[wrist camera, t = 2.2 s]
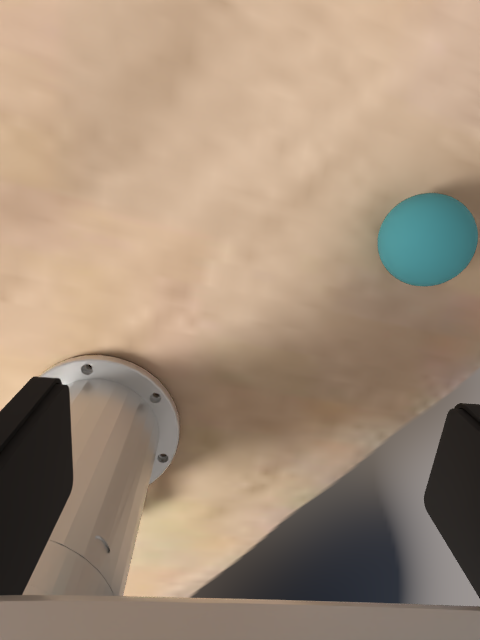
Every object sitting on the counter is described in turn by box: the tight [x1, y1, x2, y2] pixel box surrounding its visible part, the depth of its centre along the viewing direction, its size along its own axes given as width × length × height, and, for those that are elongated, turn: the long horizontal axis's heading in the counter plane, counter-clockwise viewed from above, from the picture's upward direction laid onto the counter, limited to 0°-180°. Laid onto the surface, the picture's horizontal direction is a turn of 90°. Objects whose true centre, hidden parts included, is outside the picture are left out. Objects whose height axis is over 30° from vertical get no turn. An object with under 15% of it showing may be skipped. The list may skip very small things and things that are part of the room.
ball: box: [378, 193, 478, 286], centre depth 28 cm, size 6×6×6 cm
